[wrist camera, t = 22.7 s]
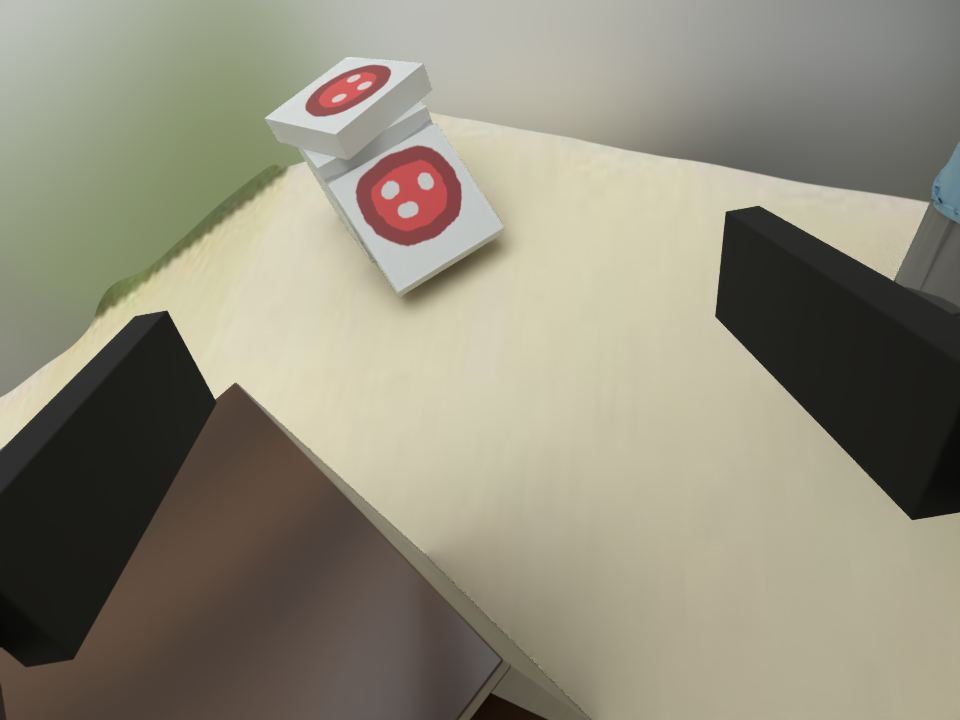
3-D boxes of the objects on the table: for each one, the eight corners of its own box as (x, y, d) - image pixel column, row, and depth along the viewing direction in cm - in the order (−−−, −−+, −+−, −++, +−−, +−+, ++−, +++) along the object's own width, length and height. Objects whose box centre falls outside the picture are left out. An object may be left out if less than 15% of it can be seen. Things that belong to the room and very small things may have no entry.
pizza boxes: (396, 322, 64) (322, 199, 50) (323, 216, 83) (255, 106, 69) (527, 241, 66) (490, 102, 52) (427, 156, 85) (380, 38, 72)
